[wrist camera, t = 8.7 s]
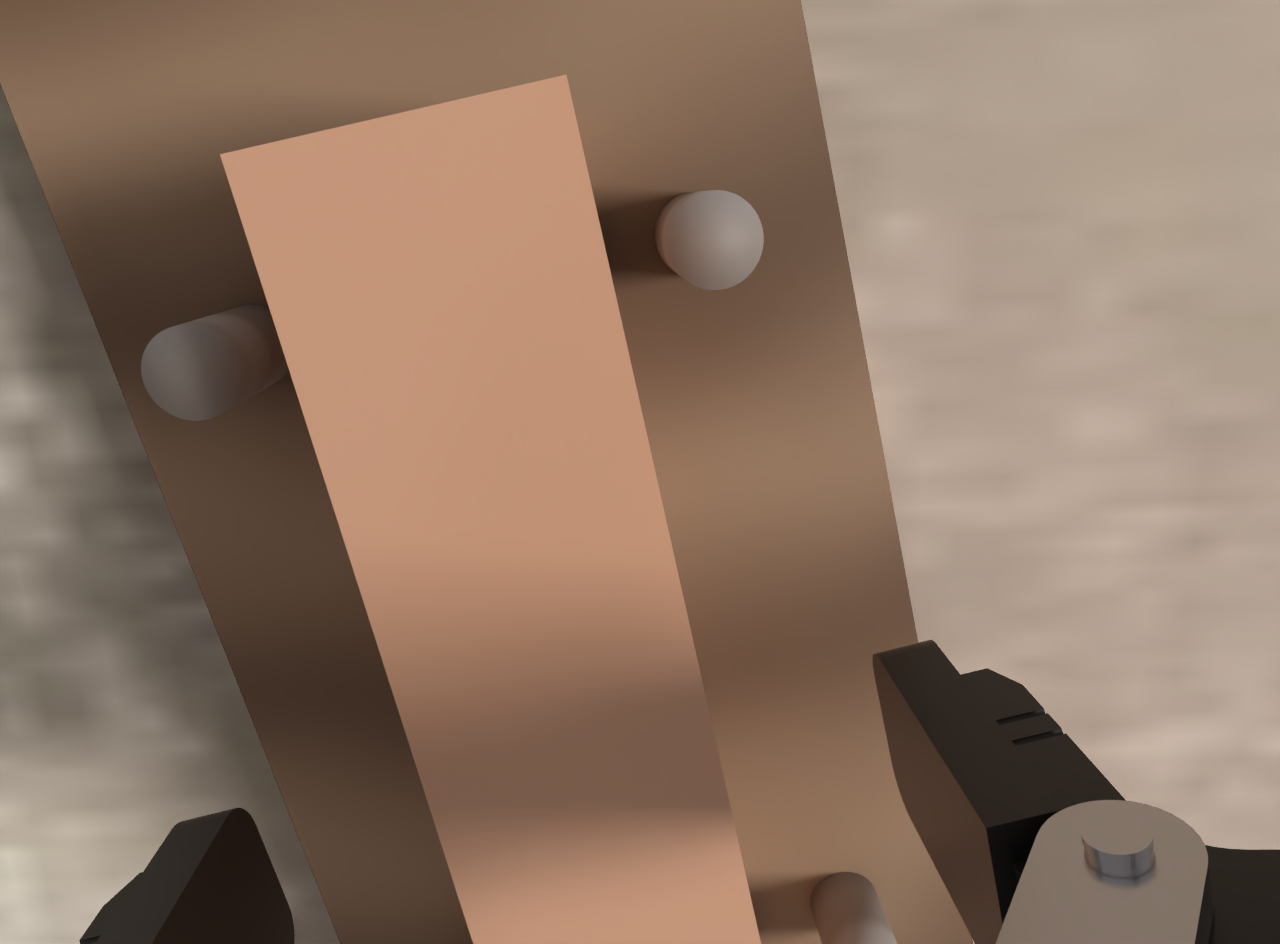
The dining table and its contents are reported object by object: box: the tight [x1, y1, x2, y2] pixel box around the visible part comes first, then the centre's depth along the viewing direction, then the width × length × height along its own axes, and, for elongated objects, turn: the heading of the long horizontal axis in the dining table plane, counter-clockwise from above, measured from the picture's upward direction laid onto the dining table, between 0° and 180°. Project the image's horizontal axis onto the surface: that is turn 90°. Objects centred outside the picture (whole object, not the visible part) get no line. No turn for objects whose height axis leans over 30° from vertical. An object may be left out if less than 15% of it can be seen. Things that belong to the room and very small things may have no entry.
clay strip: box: [220, 75, 761, 944], centre depth 14 cm, size 16×4×4 cm, turn 12°
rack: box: [0, 0, 973, 944], centre depth 16 cm, size 24×11×4 cm, turn 14°
